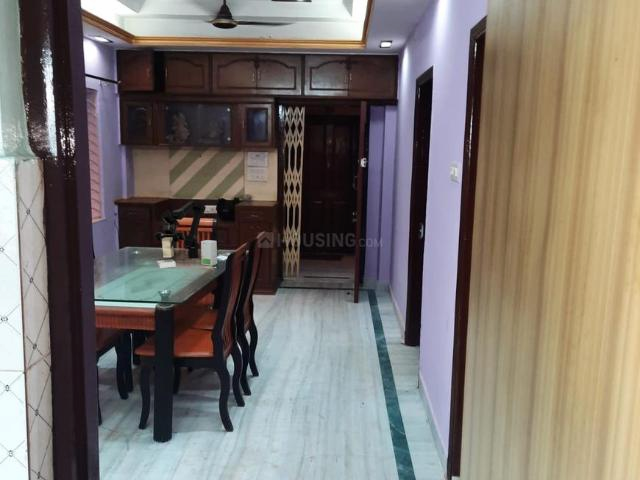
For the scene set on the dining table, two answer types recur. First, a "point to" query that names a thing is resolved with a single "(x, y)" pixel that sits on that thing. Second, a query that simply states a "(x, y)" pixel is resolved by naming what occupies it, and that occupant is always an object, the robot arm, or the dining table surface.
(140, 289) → the dining table surface
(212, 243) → the skincare box
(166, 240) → the maple pillar block
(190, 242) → the robot arm
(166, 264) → the off-white base block
